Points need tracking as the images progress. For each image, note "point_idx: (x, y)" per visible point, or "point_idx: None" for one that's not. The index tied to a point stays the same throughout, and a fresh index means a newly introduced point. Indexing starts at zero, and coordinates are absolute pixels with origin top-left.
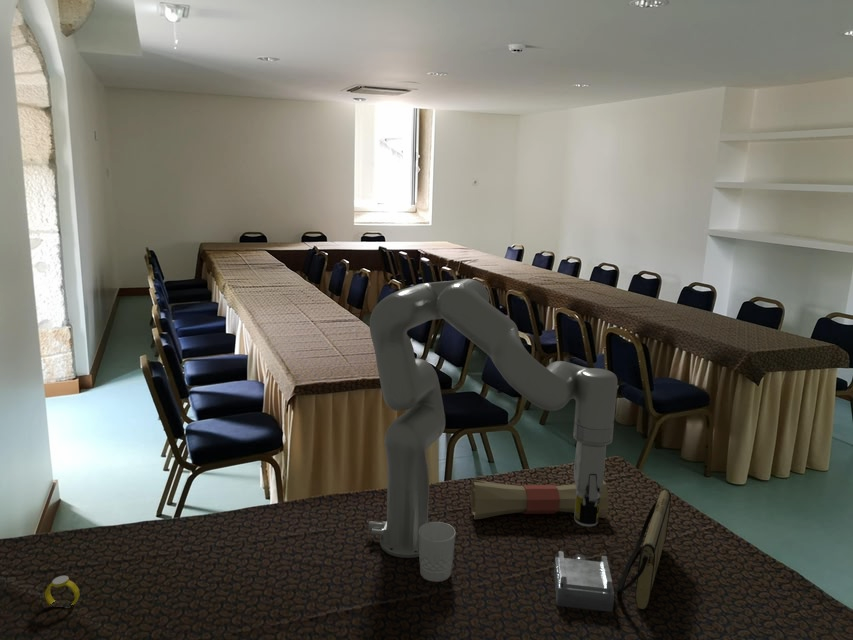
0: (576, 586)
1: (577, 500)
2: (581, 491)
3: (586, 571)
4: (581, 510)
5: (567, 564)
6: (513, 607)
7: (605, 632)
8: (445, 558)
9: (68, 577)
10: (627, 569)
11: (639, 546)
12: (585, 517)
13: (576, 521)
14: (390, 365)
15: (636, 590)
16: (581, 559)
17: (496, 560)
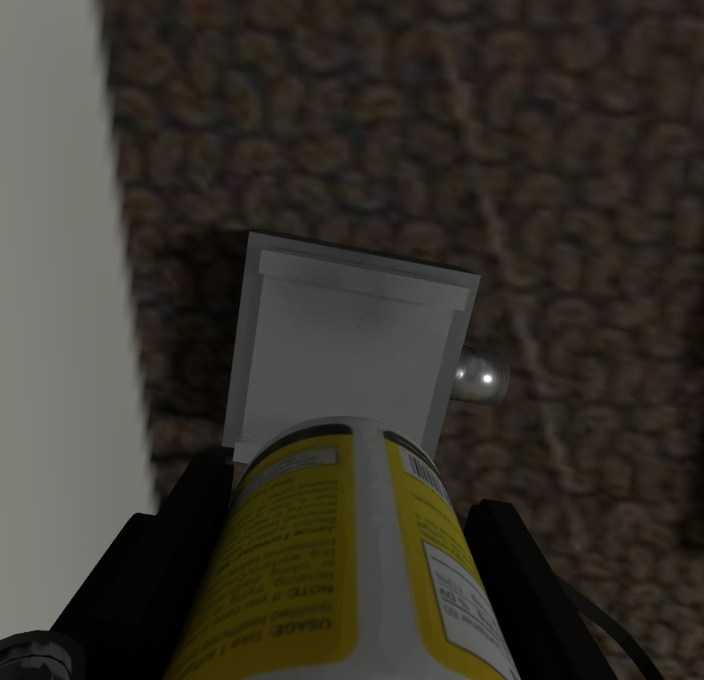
0: (258, 313)
1: (287, 587)
2: None
3: (353, 381)
4: (143, 549)
5: (407, 313)
6: (246, 44)
7: (136, 362)
8: None
9: None
10: (463, 527)
11: (577, 605)
12: (119, 539)
13: (302, 424)
14: None
15: None
16: (467, 386)
17: (572, 24)
